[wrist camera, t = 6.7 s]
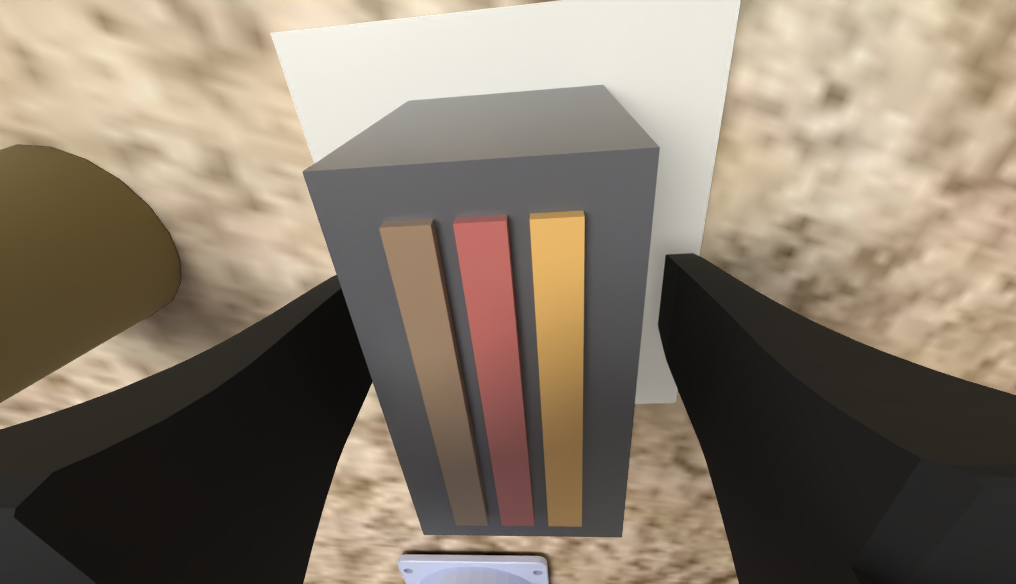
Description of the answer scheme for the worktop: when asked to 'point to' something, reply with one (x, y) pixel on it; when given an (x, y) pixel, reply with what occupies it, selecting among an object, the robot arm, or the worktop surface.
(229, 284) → the worktop surface
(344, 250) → the block
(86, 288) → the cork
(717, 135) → the header board
